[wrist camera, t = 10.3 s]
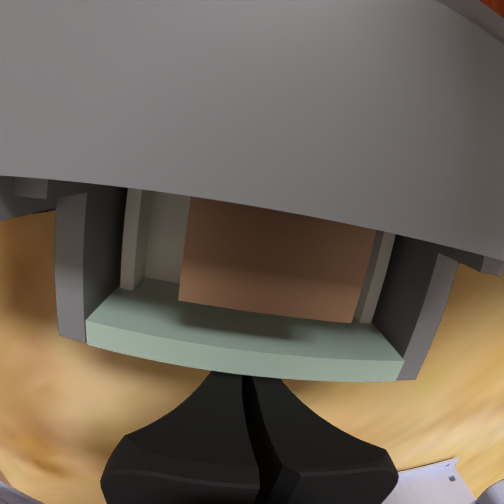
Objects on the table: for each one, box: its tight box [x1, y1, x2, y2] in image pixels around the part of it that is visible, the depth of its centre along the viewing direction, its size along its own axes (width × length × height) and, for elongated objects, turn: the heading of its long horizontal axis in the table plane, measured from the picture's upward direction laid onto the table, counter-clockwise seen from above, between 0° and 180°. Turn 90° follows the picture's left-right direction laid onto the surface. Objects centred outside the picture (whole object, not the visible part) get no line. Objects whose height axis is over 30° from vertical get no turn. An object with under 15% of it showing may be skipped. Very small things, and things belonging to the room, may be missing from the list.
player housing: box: [0, 0, 504, 380], centre depth 8 cm, size 18×11×8 cm, turn 80°
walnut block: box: [178, 196, 376, 323], centre depth 9 cm, size 4×4×5 cm
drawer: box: [85, 188, 404, 382], centre depth 10 cm, size 9×9×5 cm
